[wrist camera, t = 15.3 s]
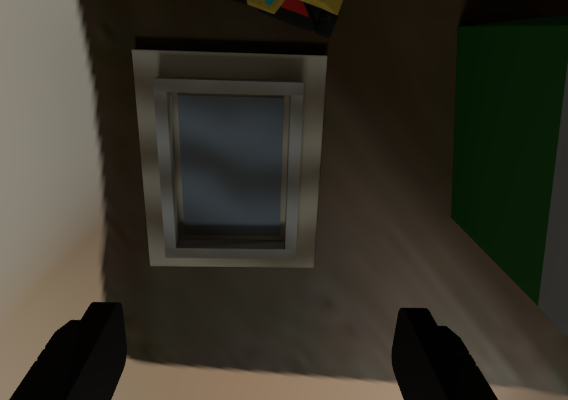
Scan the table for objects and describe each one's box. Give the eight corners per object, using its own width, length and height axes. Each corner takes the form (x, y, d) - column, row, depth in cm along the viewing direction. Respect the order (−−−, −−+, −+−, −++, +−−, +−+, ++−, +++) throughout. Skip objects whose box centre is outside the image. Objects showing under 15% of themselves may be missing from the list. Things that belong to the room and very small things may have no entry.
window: (135, 49, 37) (124, 50, 34) (325, 55, 38) (330, 57, 35) (152, 260, 44) (145, 276, 41) (312, 262, 45) (315, 278, 42)
